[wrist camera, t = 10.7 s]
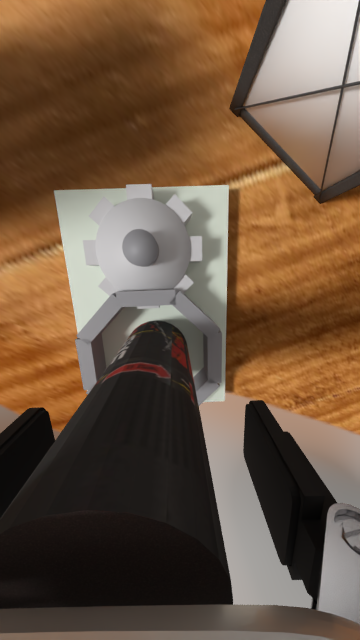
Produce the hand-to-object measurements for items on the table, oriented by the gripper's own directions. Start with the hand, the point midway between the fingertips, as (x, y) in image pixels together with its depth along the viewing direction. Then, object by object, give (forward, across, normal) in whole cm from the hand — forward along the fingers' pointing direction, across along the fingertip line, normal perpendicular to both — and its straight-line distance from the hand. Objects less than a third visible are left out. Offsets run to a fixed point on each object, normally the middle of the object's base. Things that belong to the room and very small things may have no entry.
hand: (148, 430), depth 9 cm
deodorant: (+10, +1, 0) cm, 10 cm away
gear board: (+11, +1, -4) cm, 12 cm away
